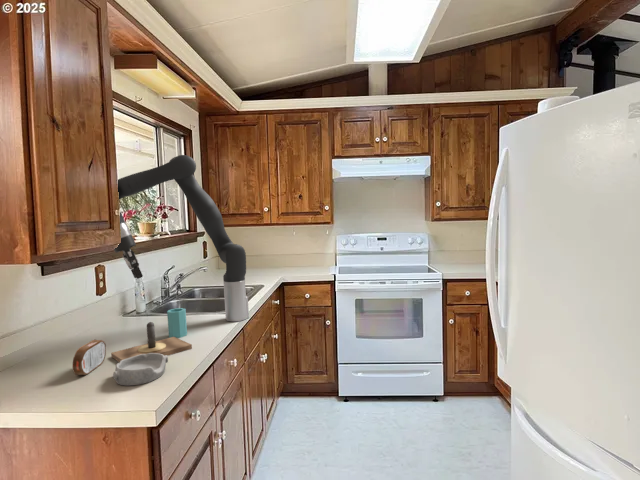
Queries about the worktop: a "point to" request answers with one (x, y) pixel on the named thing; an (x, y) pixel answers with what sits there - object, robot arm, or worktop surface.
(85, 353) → the tin
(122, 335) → the worktop surface
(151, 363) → the dish
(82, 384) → the worktop surface
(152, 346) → the post stand
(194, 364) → the worktop surface
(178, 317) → the collar
